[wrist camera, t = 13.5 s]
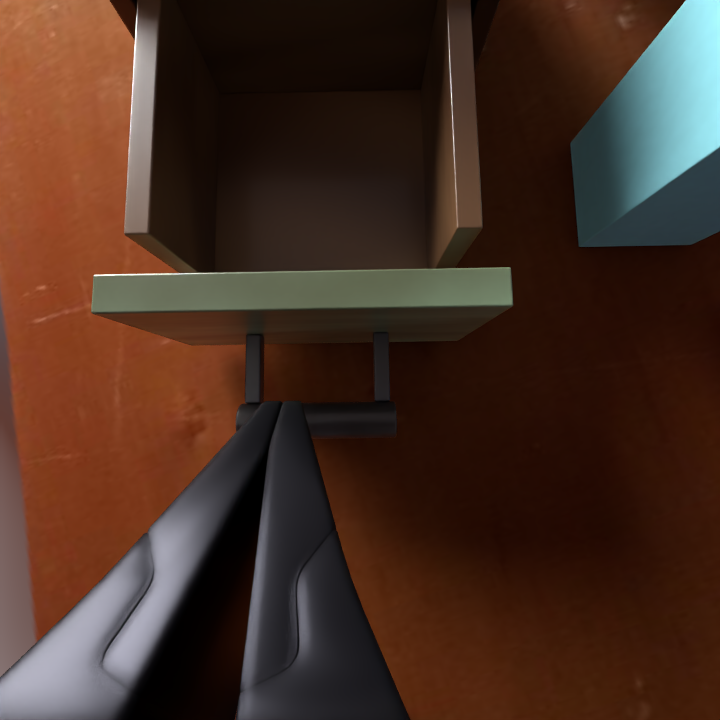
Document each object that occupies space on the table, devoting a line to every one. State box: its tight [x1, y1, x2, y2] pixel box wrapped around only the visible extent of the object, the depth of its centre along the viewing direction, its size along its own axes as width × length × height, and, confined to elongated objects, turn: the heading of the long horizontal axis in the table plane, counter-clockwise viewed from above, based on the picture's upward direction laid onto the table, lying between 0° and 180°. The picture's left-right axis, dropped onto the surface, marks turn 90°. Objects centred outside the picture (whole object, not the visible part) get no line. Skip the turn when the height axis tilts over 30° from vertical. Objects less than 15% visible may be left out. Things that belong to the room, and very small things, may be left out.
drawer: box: [91, 0, 513, 439], centre depth 14 cm, size 17×12×6 cm
